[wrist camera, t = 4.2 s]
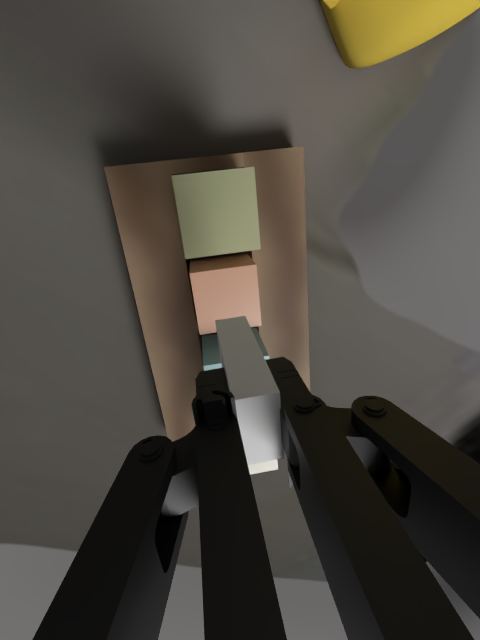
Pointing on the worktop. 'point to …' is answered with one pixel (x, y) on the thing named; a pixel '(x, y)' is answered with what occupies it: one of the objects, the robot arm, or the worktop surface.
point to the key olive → (217, 212)
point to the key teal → (213, 354)
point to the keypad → (174, 270)
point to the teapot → (389, 25)
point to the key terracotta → (225, 289)
